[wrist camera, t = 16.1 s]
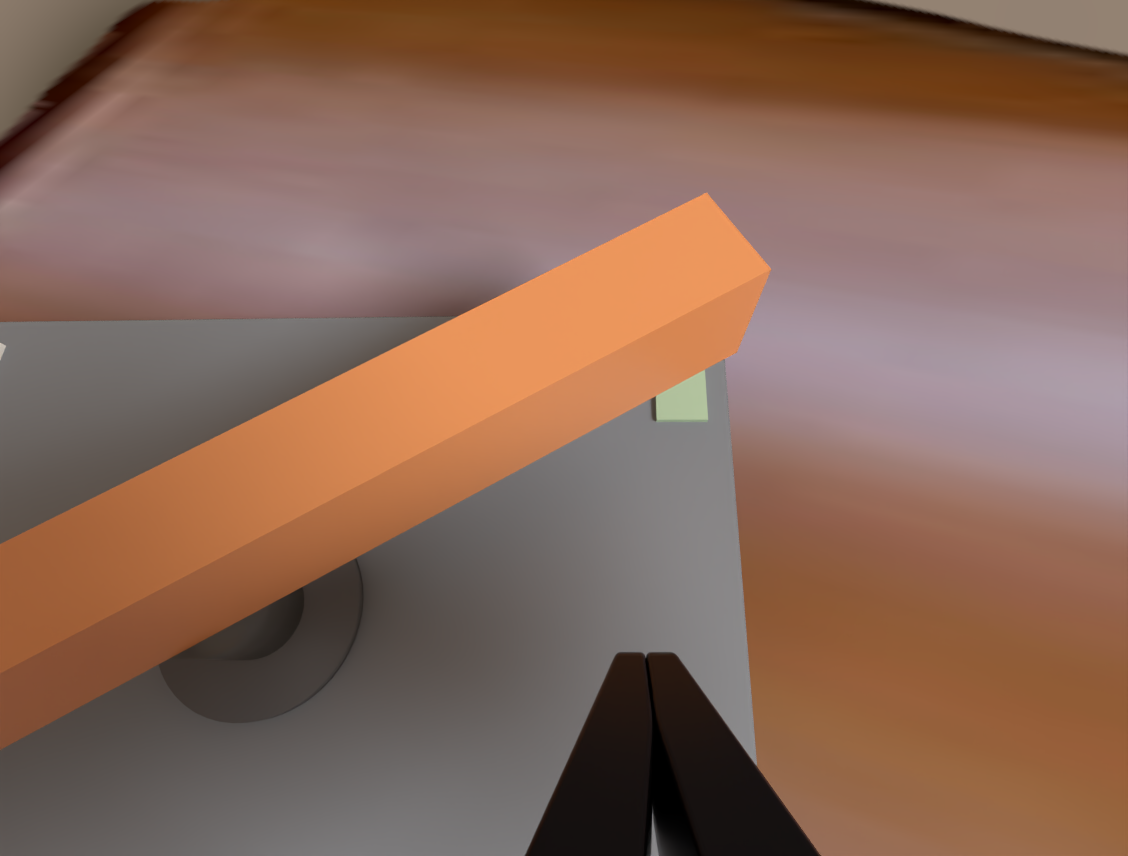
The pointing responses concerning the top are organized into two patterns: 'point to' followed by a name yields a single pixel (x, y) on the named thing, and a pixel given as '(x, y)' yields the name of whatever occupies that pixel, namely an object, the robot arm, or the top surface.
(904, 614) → the top surface
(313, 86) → the top surface
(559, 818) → the robot arm
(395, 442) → the handle
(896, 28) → the top surface
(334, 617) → the panel
